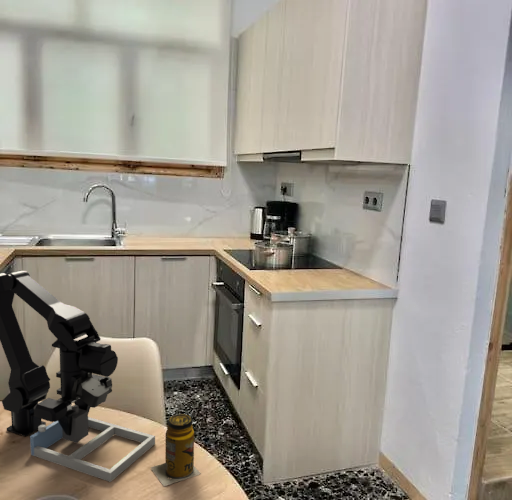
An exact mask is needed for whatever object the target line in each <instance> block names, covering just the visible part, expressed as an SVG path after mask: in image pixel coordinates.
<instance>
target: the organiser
mask: <svg viewBox="0 0 512 500" xmlns="http://www.w3.org/2000/svg"><path fill="white" fill-rule="evenodd" d="M88 428H90V429H94V430H98V431H101V433H99V434H98V435H96V436H95V437H93V438H91V440H89V441H88V442H86V443H85V444H83V445H82V446H81V447H79V448H78V449H76V450H74V452H72V453H71V454H69V455H67V454H64V453H61V452H58V451H56V450H52V449H50V448H49V447H51V446H52V445H54V444H55V443H57V442H58V441H59V440H61V439H63V434H62V427H61V425H60V424H59V422H58V421H56V422H50V424H48V425H40V426H38V431H37V432H36V431H35V432H34V434H33V433H32V434H30V436H29V438H30V439H29V440H30V441H29V443H30V445H29V447H30V455H31V456H32V457H33V456H34V457H37V458H39V459H41V460H45V461H48V462H50V463H53V464H57V465H60V466H62V467H64V468H68V469H71V470H74V471H76V472H80V473H82V474H86V475H89V476H91V477H95V478H99V479H101V480H103V481H107V482H109V483H111V482H112V481H113V480H115V479H116V478H117V477H118V476H119V475H120V474H122V473H123V472H124V471H125V470H126V469H128V468H129V467H130V466H131V465H133V463H134V462H135V461H137V460H138V459H139V458H140V457H142V456H143V455H144V454H145V453H146V452H148V451H149V450H150V449H151V448H152V447H154V446H155V445H156V435H153V434H150V433H147V432H143V431H140V430H139V431H138V430H135V429H133V428H129V427H125V426H121V425H118V424H115V423H111V422H108V421H103V420H100V419H96V418H95V417H94V418H93V417H90V416H88ZM113 436H118V437H121V438H124V439H128V440H131V441H135V442H139V443H140V444H139V445H137V446H136V447H135V448H134V449H133V450H131V451H130V452H129V453H128V454H126V455H125V456H124V457H123V458H122V459H121V460H120V459H119V461H118V462H117V463H115V464H114V465H113V466H112V467H110V468H107V467H104V466H101V465H97V464H95V463H92V462H89V461H85V460H82V459H83V458H85V457H86V456H87V455H89V454H90V453H91V452H93V451H94V450H96V449H97V448H99V447H100V446H101V445H102V444H104V443H105V442H106V441H108V440H109V439H111V438H112V437H113Z"/></svg>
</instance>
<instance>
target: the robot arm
mask: <svg viewBox="0 0 512 500" xmlns="http://www.w3.org/2000/svg"><path fill="white" fill-rule="evenodd" d="M15 295H16V296H18V297H19V298H20V299H21V300H22V301H23V302H25V303H26V304H27V305H29V307H30V308H31V309H33V310H34V311H35V312H36V313H38V314H39V315H40V316H41V317H42V318H43V319H44V320H45V321H46V323H47V328H48V330H49V332H51V334H52V335H53V336H54V337H55V338H56V340H55V341H54V342H53V343H51V347H53V348H55V349H56V348H57V349H59V371H57V372H56V373H55V377H56V378H59V380H60V381H59V382H60V388H58V389H56V395H59V396H61V397H60V398H58V399H55V398H51V397H48V398H47V395H48V393H49V390H50V388H51V383H50V381H51V378H50V377H49V375H48V373H47V368H46V367H45V365H44V364H43V365H38V364H37V363H35V362H34V361H33V359H32V356H31V353H30V351H29V347H28V346H27V342H26V339H25V338H24V334H23V332H22V330H21V326H20V324H19V321H18V318H17V316H16V313H15V310H14V308H13V303H14V298H15ZM90 318H91V317H90V316H89V315H88V314H87V312H85V311H83V310H81V309H79V308H78V307H76V306H74V305H69V304H65V303H63V302H62V301H60V300H59V299H58V298H56V296H54V295H53V294H52V293H50V292H49V291H48V290H47V289H46V288H45V287H43V286H42V285H41V284H40V283H38V282H37V281H36V280H35V279H34V278H32V277H31V276H30V274H29V272H28V271H27V270H16V271H12V272H8V273H4V272H0V344H1V346H2V349H3V352H4V355H5V358H6V360H7V363H8V365H9V367H10V368H9V369H10V373H9V378H8V384H7V385H8V387H9V393H8V394H7V395H6V396H5V397H4V398H3V399H2V400H1V404H2V408H3V409H4V410H5V411H9V412H10V415H11V416H10V417H11V425H10V426H8V427H6V431H7V432H9V433H10V432H11V433H14V434H16V435H19V436H23V437H27V436H29V435H32V434H33V433H35V432H36V431H37V430H38V426H40V425H46V424H47V422H50V423H53V422H56V421H58V422H59V424H60V425H61V427H62V429H63V430H64V432H65V434H66V435H68V436H70V435H71V430H72V415H73V414H74V413H75V412H76V411H75V410H72V407H71V406H73V403H74V405H78V408H79V409H83V410H86V411H88V414H89V413H90V410H91V409H94V408H97V407H98V406H99V405H101V404H103V403H104V402H106V401H107V399H108V398H107V397H108V395H109V394H111V393H113V389H112V388H113V381H112V377H110V376H112V374H113V373H114V372H115V371H116V368H117V367H118V360H119V358H118V355H117V353H116V352H115V351H114V350H112V345H111V344H108V343H101V342H100V341H101V337H100V335H99V334H98V331H97V330H96V329H95V326H94V325H93V323H92V322H91V320H90ZM85 335H86V337H83V336H85ZM81 337H83V338H81ZM78 338H81V339H78ZM76 339H78V340H76ZM99 342H100V343H99ZM42 420H45V421H42ZM46 421H47V422H46ZM46 426H47V425H46Z"/></svg>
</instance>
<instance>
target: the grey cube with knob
mask: <svg viewBox="0 0 512 500" xmlns="http://www.w3.org/2000/svg"><path fill="white" fill-rule="evenodd" d="M71 407H72V410H75V411H76V412H75V413H74V414H73V415H72V430H71V435H70V436H68V435H66V434H65V432H64V430H63V429H62V434H63V438H62V440H66V441H68V442H72V443H75V444H77V443H79V442H80V441H82V439H84V438H86V437H87V436H89V427H88V417H89V413H88V411H86V410H83V409H79V408H78V405H75V404H74V405H73V404H72V405H71Z"/></svg>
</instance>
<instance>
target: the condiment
mask: <svg viewBox="0 0 512 500" xmlns="http://www.w3.org/2000/svg"><path fill="white" fill-rule="evenodd" d="M194 448H195V430H194V429H193V418H192V417H191V416H190V415H188V414H184V413H178V414H173V415H171V416H170V417H169V418H168V420H167V427H166V431H165V452H164V453H165V460H164V461H165V462H164V463H161V464H159V465H158V464H157V465H154V466H151V467H150V469H151V470H152V472H153V473H154V475H155V476H156V478H157V480H158V481H159V482H160V483H161V485H162V486H163V487H167V486H169V485H172V484H175V483H177V482H181V481H185V480H188V479H191V478H193V477H196V476H199V475H200V474H201V471H199V470H198V469H197V468H196V466H194V461H195V460H194V459H195V449H194Z"/></svg>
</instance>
